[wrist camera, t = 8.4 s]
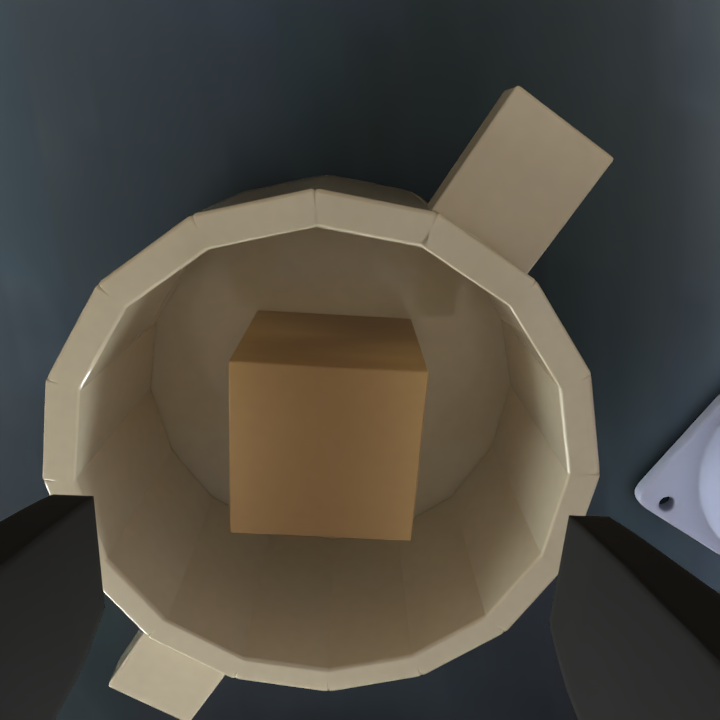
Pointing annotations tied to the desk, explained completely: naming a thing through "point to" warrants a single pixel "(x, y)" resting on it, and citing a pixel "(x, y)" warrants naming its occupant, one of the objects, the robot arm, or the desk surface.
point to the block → (325, 426)
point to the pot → (439, 438)
